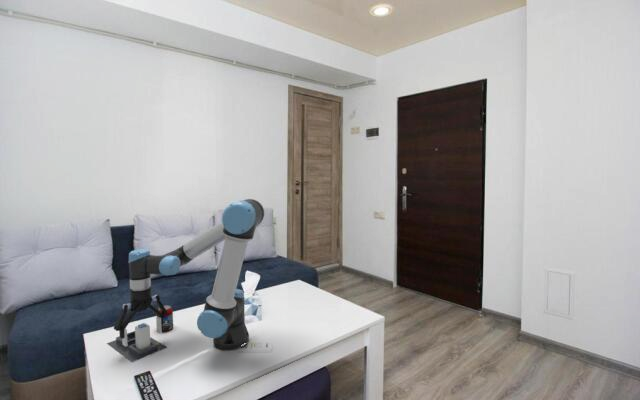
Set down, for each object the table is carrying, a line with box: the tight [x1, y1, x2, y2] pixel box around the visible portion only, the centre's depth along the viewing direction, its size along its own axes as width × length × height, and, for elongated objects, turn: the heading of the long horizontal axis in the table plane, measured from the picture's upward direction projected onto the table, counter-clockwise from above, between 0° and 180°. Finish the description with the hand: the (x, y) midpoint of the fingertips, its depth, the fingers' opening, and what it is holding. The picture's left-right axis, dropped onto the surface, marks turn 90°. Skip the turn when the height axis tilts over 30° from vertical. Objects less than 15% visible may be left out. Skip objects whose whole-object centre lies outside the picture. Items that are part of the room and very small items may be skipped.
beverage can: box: [156, 304, 174, 334], centre depth 154 cm, size 7×7×12 cm
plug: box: [134, 322, 151, 350], centre depth 136 cm, size 4×4×11 cm
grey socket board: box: [106, 330, 168, 363], centre depth 140 cm, size 24×14×4 cm, turn 53°
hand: (142, 338), depth 136 cm, fingers open, 13 cm apart
